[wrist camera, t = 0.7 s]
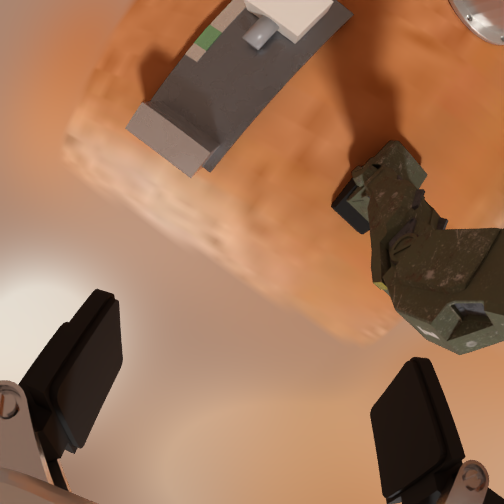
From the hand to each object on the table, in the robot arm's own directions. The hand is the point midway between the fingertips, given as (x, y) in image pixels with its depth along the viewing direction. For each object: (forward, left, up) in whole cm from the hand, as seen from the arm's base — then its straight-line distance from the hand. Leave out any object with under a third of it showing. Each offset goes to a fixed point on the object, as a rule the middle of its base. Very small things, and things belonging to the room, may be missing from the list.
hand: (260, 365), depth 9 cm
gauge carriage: (-13, -11, -26) cm, 31 cm away
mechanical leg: (-7, +10, -28) cm, 30 cm away
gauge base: (-7, -10, -27) cm, 30 cm away
